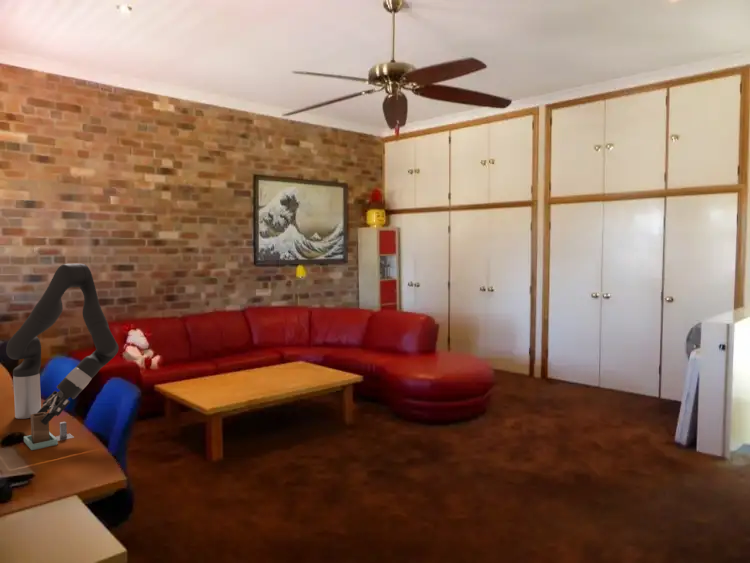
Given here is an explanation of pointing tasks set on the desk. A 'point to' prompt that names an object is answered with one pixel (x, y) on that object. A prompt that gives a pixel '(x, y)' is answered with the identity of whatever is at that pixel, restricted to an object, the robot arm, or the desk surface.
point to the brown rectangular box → (39, 428)
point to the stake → (63, 432)
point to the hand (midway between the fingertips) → (40, 420)
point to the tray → (40, 445)
